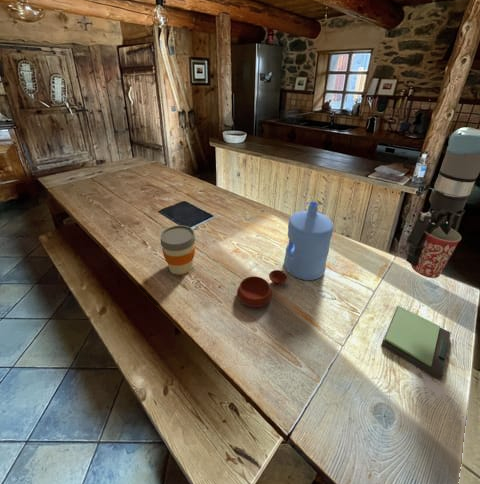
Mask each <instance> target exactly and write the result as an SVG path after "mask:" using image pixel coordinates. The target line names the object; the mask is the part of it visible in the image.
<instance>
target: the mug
mask: <svg viewBox="0 0 480 484" xmlns="http://www.w3.org/2000/svg"><path fill="white" fill-rule="evenodd" d="M431 223H432V224H435V223H433V222H431ZM425 234H426V235H427V236H426V239H425V242H424V244H423V245H422V246H421V247H422V248H423V250H422V252H421V255H420V257H419V260H418V262H417V265H416V266H415V267H414V266H412V265H411V264H410V266H411V269H413V271H414V272H415V273H417V274H419V275H420V276H423V277H424V278H429V279H436V278H439V277H440V276H441V274H442V272H443V270H444V268H445V267H446V265H447V263H448V262H449V260H450V258H451V256H452V255H453V253H454V251H455V249H456V247H457V246H458V244H459V243H460V242H461V240H462V235H461V234H460V233H459V232H458V231H455V230H453V229H452V228H451V230H450V231H449V233H448V234H447V235H446V234H445V233H444V232H443V230H442V229H441V228H440V226H439V227H438V228H437V229H434V230H433V232H432V233H431V234H428V233H427V232H426V231H425Z"/></svg>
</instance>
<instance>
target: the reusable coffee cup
mask: <svg viewBox="0 0 480 484" xmlns="http://www.w3.org/2000/svg"><path fill="white" fill-rule="evenodd" d="M195 242H196V234H195V231H194V229H193V228H192V227H190V226H188V225H181V224H180V225H173V226H169V227H168V228H165V229H164V230H163V231H162V232H161V234H160V246H161V248H162V254H163V257H164V260H165V262H166V263H167V267H168V269H169V272H171V274H173V275H184V274H187V273H189V272H190V271H191V270H192V268H193V264H194V258H195V252H196V243H195Z"/></svg>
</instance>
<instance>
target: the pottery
mask: <svg viewBox="0 0 480 484" xmlns="http://www.w3.org/2000/svg"><path fill="white" fill-rule="evenodd" d="M268 277H269V279H270V281H271V282H272V284H273V285H274V286H277V287H279V286H281V285H282V284H283V283H285V282H286V281H287V280H288V275H287V274H286V273H285V271H283V270H279V269H273V270H272V271H270V272H269V274H268ZM236 295H237V298H238V300H239V301H240V302H241V303H243V305H245V306H247V307H251V308H259V307H263V306H266V305H267V304H268V303H270V301H271V300H272V298H273V297H272V296H273V290H272V288H271V286H270V284H269V283H268V281H267V280H266V279H265V278H263V277H260V276H253V275H252V276H248V277H246V278H244V279H243V280H241V282H240V284H239V286H238V287H237V290H236Z"/></svg>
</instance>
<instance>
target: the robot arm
mask: <svg viewBox="0 0 480 484" xmlns="http://www.w3.org/2000/svg"><path fill="white" fill-rule="evenodd" d="M479 175H480V129H478V128H477V129H476V128H475V127H468V126H467V127H460V128H459V129H456V130H455V131H453V132H452V133H451V134H450V136H449V139H448V145H447V147H446V152H445V154H444V157H443V160H442V163H441V166H440V169H439V172H438V175H437V178H436V180H435V182H434V185H433V187H434V188H432V190H431V193H430V196H429V198H428V201H429V203H430V208H429V209H428V210H427V212H423V211H419V212H418V214H417V220H416V221H415V223H414V225H413V227H412V229H411V231H410V233H409V235H408V237H407V239H406V241H405V242H406V243H407V244H409V246H410V248H409V250H408V255H407V257H406V260H405V261H406V262H407V263H408V264H409V265H410V266H411V265H412V266H414V267H415V266H416V265H417V262H418V260H419V257H420V255H421V252H422V250H423V248H422V247H421V246H422V245H423V244H424V242H425V239H426V236H427V235H426V234H425V231H426V232H427V233H428V234H431V233H432V232H433V230H434V229H437V228H438V227H439V226H440V228H441V229H442V230H443V232H444V233H445V234H446V235H447V234H448V233H449V231H450V230H451V228H452V229H453V230H455V231H457V232H458V231H459V227H460V224H461V221H462V218H463V216H464V214H465V212H466V210H465V209H464V208H465V206H466V202H467V201H468V197H469V196H470V195H471V192H472V190H473V188H474V185H475V182H476V180H477V178H478V177H479ZM432 223H435V224H432ZM412 266H411V267H412Z"/></svg>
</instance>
